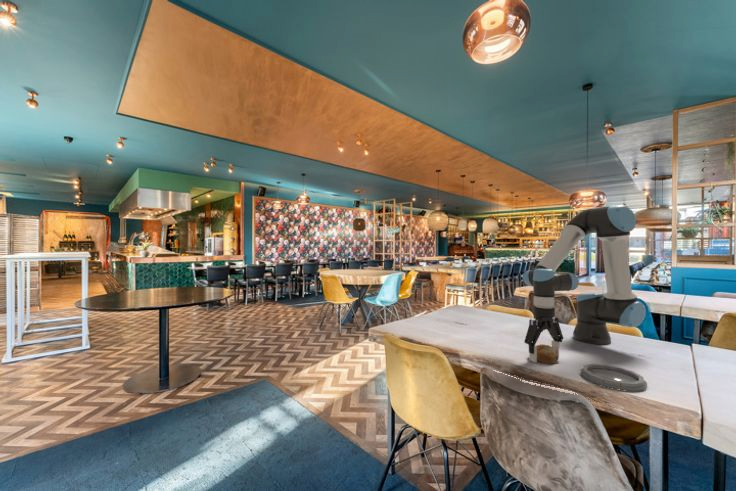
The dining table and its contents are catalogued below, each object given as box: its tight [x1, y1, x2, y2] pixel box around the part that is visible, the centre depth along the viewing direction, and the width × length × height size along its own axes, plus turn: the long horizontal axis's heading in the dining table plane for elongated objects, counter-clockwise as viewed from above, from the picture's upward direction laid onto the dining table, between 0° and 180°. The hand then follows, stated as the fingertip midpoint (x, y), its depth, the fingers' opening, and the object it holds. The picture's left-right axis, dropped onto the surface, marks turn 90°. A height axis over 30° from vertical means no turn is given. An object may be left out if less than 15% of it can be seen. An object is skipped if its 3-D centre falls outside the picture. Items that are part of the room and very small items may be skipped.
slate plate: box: [580, 363, 648, 392], centre depth 105 cm, size 18×18×2 cm
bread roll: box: [528, 343, 559, 365], centre depth 124 cm, size 10×10×8 cm
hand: (544, 359), depth 124 cm, fingers open, 12 cm apart
